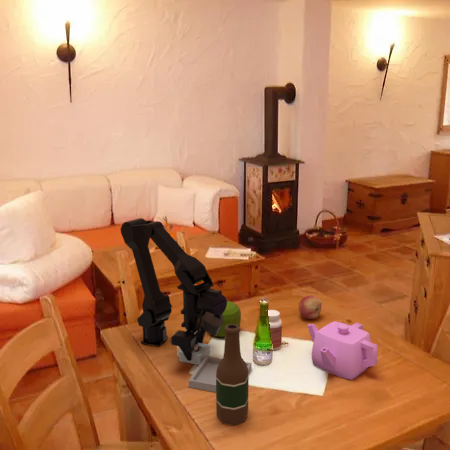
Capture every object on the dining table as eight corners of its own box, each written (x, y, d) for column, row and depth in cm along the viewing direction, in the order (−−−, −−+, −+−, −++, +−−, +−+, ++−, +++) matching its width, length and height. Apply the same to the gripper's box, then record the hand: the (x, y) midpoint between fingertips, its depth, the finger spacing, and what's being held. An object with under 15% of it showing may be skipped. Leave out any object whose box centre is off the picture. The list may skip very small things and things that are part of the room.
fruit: (305, 324, 173) (306, 302, 171) (294, 315, 180) (294, 294, 178) (325, 320, 175) (326, 299, 173) (313, 311, 182) (314, 290, 180)
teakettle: (379, 380, 140) (383, 339, 137) (318, 382, 140) (320, 341, 136) (360, 349, 157) (363, 312, 153) (305, 351, 156) (306, 313, 153)
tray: (188, 387, 137) (188, 380, 137) (206, 362, 150) (206, 355, 149) (237, 396, 133) (237, 389, 133) (251, 369, 146) (251, 363, 145)
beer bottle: (215, 407, 129) (214, 319, 122) (246, 405, 129) (246, 318, 123) (217, 427, 121) (216, 334, 115) (250, 425, 122) (251, 333, 116)
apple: (246, 329, 169) (246, 299, 167) (229, 343, 161) (229, 311, 158) (217, 322, 175) (217, 292, 172) (200, 335, 166) (199, 304, 163)
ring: (210, 353, 154) (209, 344, 153) (200, 365, 148) (200, 356, 147) (183, 348, 157) (183, 340, 156) (173, 359, 151) (172, 350, 150)
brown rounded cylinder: (189, 359, 152) (189, 345, 150) (192, 355, 154) (192, 341, 152) (196, 360, 151) (196, 346, 150) (199, 356, 153) (199, 342, 152)
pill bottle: (285, 347, 158) (286, 314, 155) (269, 352, 155) (270, 319, 152) (273, 339, 163) (273, 306, 160) (257, 344, 160) (257, 311, 157)
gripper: (206, 323, 137) (207, 375, 141) (230, 297, 153) (231, 344, 158) (168, 317, 140) (170, 368, 145) (196, 292, 157) (197, 338, 161)
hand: (194, 354), depth 152 cm, fingers closed on ring, 7 cm apart
